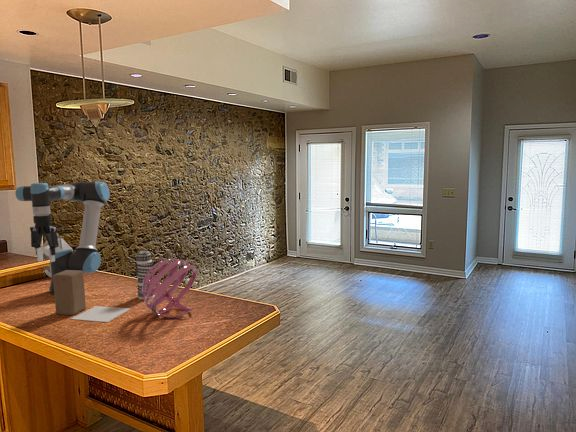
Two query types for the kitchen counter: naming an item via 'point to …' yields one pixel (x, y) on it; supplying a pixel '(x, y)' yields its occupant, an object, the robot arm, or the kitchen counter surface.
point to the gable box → (62, 246)
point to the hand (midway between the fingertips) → (46, 261)
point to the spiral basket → (163, 286)
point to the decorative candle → (143, 270)
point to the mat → (100, 314)
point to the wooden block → (69, 292)
